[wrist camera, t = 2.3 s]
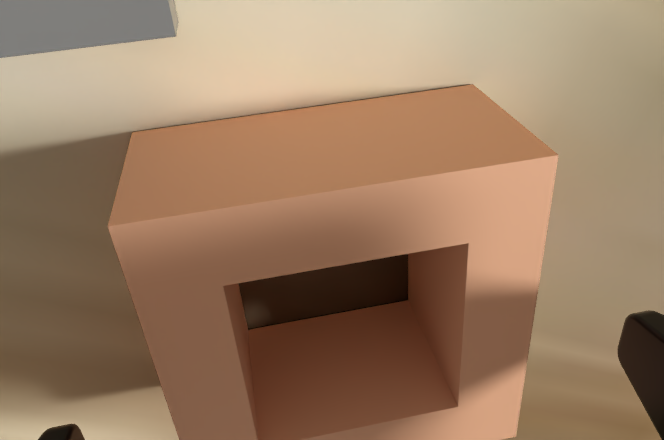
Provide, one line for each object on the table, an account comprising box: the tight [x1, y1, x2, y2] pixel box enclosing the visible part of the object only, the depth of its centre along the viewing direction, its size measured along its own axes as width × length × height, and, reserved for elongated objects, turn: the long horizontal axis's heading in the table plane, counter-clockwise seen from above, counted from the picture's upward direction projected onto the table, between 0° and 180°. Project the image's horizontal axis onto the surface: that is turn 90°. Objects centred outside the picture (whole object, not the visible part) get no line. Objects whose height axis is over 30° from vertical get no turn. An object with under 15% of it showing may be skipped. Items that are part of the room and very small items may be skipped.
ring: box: [108, 84, 558, 440], centre depth 11 cm, size 6×6×3 cm
